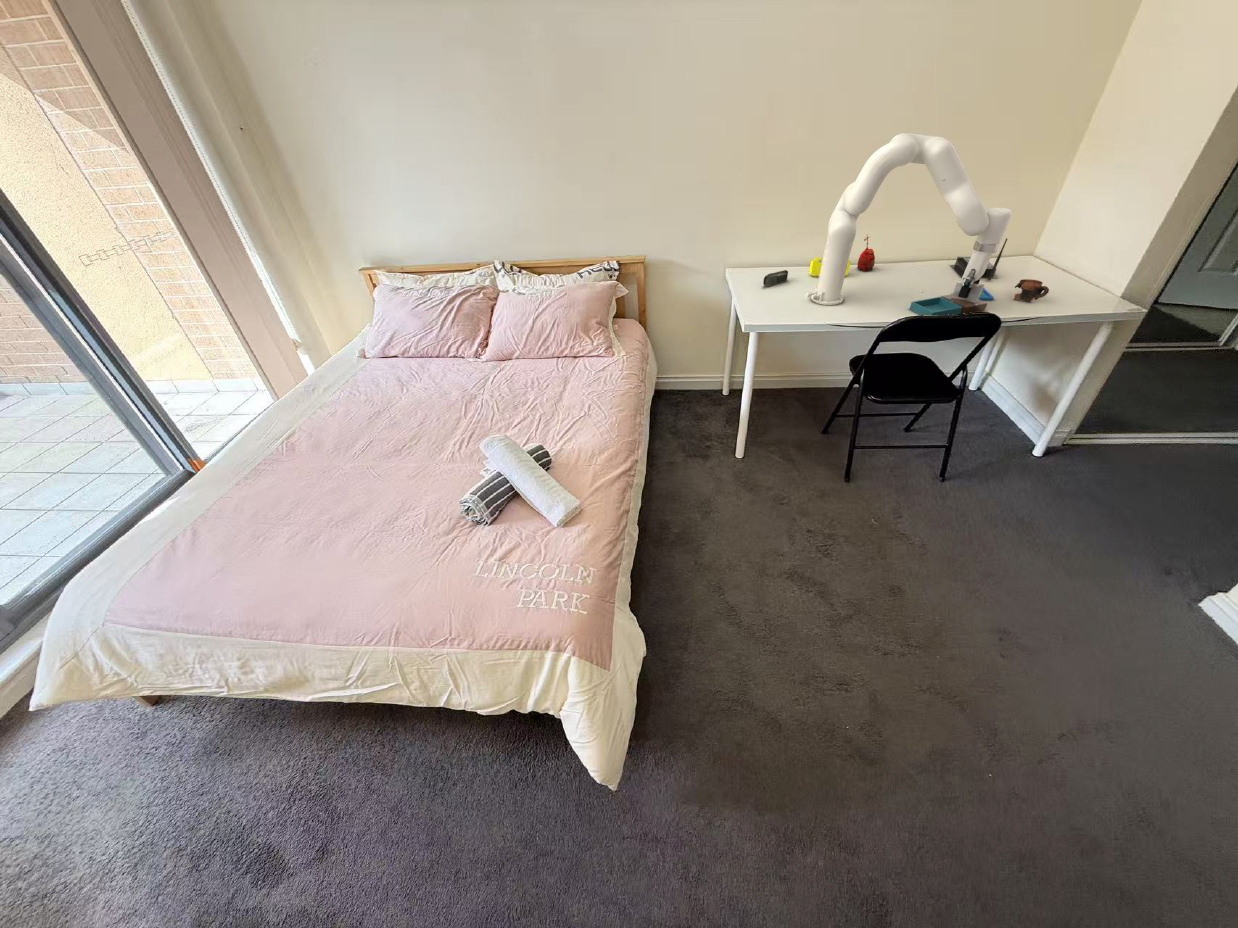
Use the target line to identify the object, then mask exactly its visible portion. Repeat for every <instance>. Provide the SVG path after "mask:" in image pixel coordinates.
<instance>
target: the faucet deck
mask: <svg viewBox="0 0 1238 928" xmlns="http://www.w3.org/2000/svg"><path fill="white" fill-rule="evenodd" d="M952 294H953V292H951V294H950V293H949V294H946V295H945V294H944V295H941V296H940V297H942V298H944V299H947V300H949V301H950V302H953V303H955V304H957V305H959V306H961V307H963V308H962V310H961V313H960V315H962V314H963V313H969V314H971V313H970V312H974V313H979V312H984V311H985V310H986V308H987V307H988V306H987V305H988V302H986V301H985V300H980V299H978V301H977V302H976V303H974V302H969V301H964V300H959V299H955V298H951V297H952Z"/></svg>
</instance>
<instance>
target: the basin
mask: <svg viewBox="0 0 1238 928" xmlns="http://www.w3.org/2000/svg"><path fill="white" fill-rule="evenodd" d="M909 305H910V306H909V308H908V310H910V311H912V312H914V313H916V314H917V315H919V316H921V315H948V314H949V315H952V314H960V313H961V310H962V308H963V307H961V306H959V305H957V304H955V303H953V302H950V301H949V300H947V299H944V298H942V297H941V296H937V297H931V298H925V299H920V300H914V301H911V302H910V304H909ZM960 315H961V314H960Z"/></svg>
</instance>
